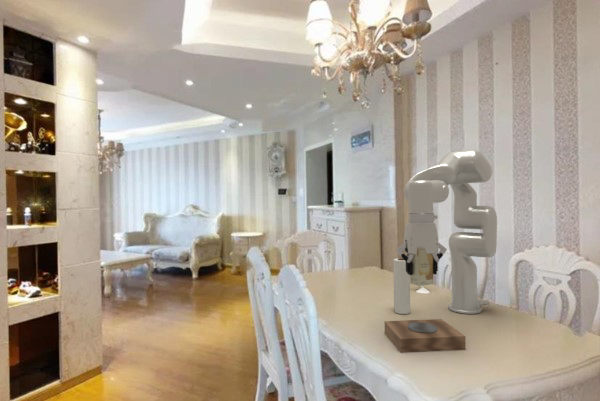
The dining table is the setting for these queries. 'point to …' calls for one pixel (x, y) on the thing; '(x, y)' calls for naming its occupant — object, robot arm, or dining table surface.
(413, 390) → the dining table surface
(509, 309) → the dining table surface
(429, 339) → the walnut stand
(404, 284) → the paper towel roll
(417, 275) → the skincare box
